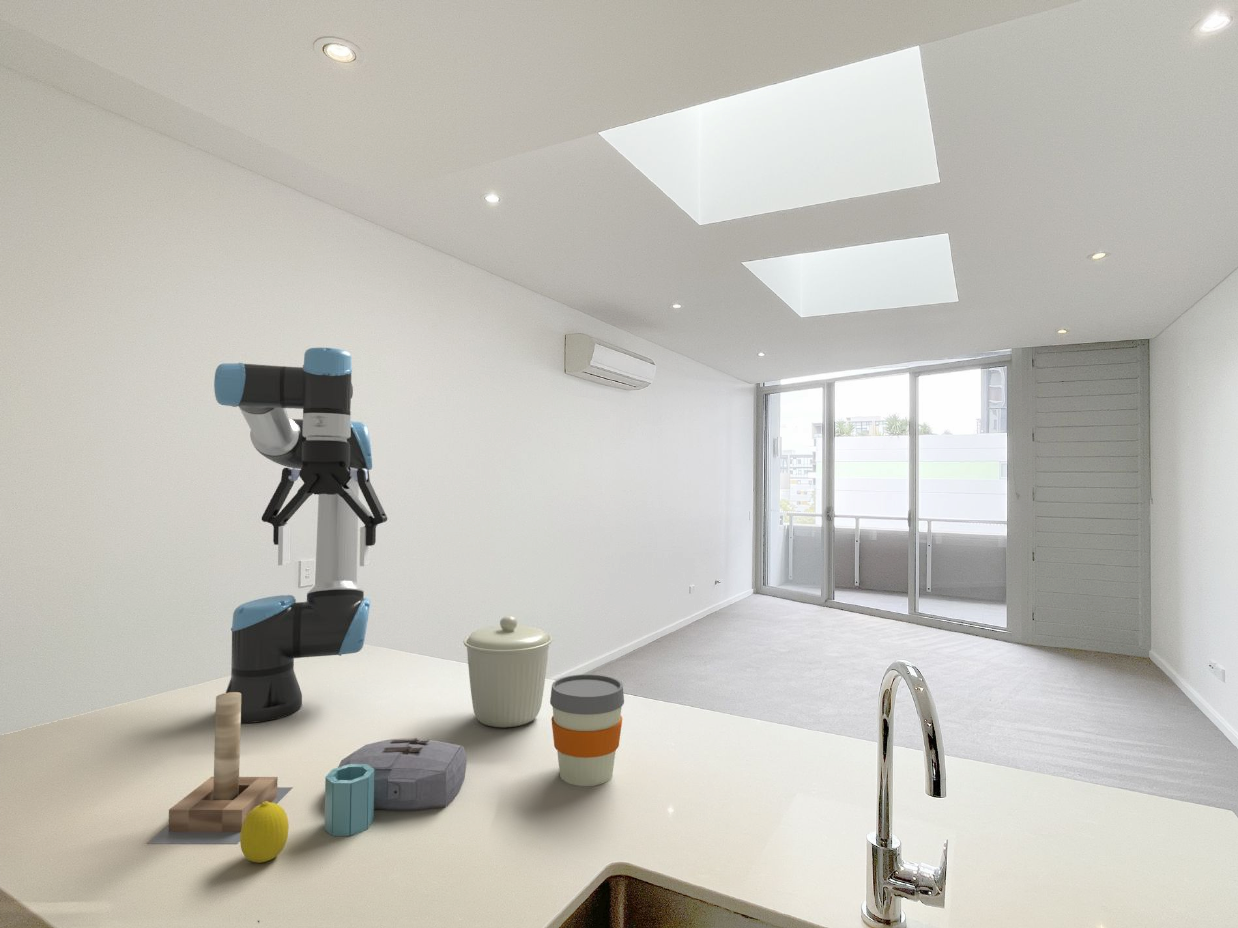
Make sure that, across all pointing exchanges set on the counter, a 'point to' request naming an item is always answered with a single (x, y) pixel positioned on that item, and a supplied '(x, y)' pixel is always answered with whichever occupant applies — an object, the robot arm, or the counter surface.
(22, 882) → the counter surface
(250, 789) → the frame
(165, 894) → the counter surface
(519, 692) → the canister
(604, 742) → the reusable coffee cup
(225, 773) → the dowel
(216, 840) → the tray
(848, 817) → the counter surface
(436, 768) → the grey rounded bag
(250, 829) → the lemon
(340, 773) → the cup
